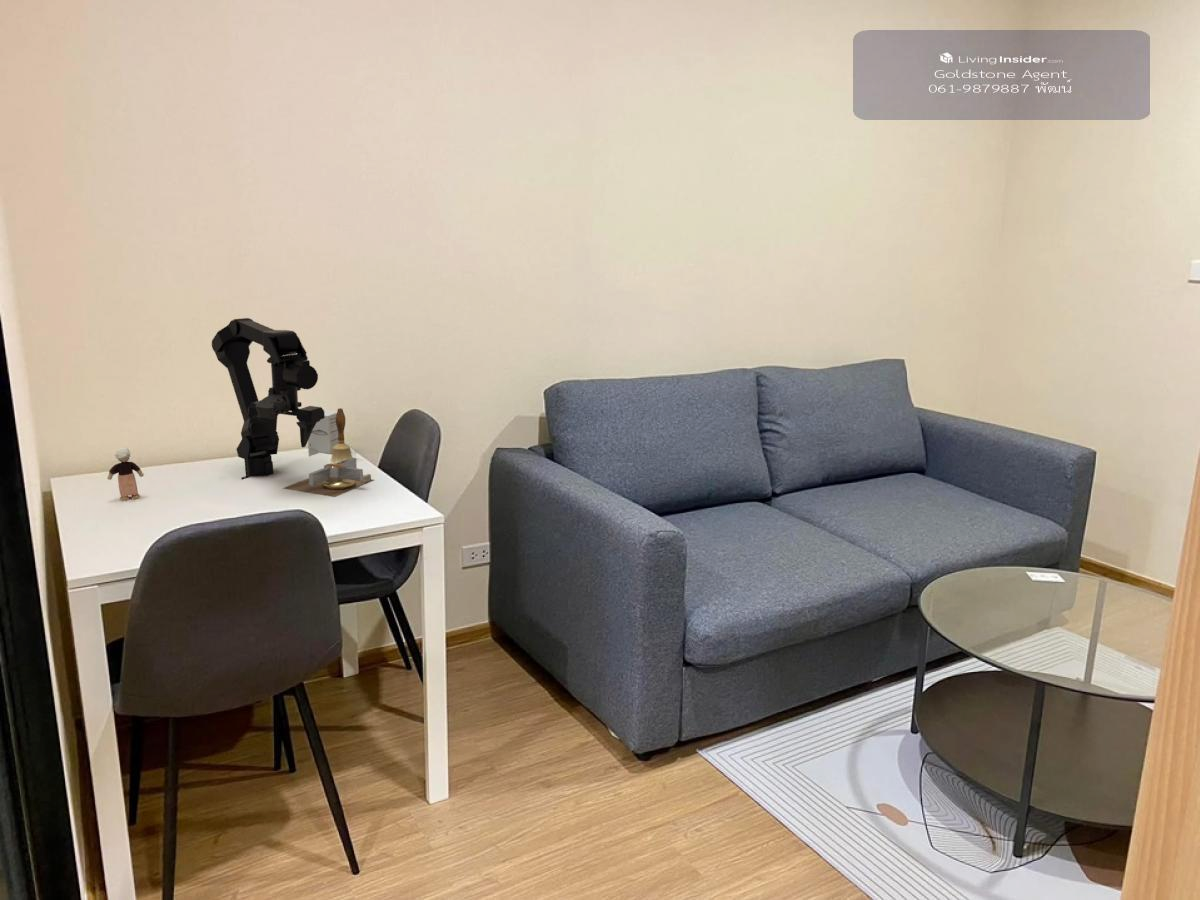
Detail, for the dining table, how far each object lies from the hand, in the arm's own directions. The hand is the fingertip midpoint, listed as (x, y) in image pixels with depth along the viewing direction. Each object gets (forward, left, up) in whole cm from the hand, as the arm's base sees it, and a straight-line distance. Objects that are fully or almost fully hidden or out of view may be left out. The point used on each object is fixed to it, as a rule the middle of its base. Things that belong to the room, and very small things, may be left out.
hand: (288, 444), depth 230 cm
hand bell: (-3, +25, -12) cm, 28 cm away
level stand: (+8, +5, -12) cm, 15 cm away
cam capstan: (+13, +5, -10) cm, 17 cm away
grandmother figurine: (-30, -22, -12) cm, 40 cm away
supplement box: (-14, +32, -12) cm, 37 cm away
